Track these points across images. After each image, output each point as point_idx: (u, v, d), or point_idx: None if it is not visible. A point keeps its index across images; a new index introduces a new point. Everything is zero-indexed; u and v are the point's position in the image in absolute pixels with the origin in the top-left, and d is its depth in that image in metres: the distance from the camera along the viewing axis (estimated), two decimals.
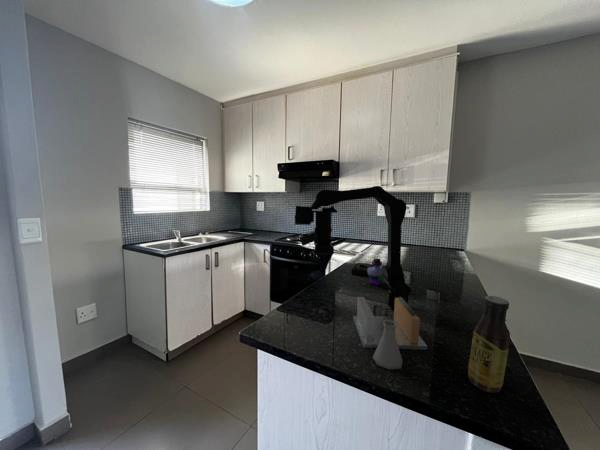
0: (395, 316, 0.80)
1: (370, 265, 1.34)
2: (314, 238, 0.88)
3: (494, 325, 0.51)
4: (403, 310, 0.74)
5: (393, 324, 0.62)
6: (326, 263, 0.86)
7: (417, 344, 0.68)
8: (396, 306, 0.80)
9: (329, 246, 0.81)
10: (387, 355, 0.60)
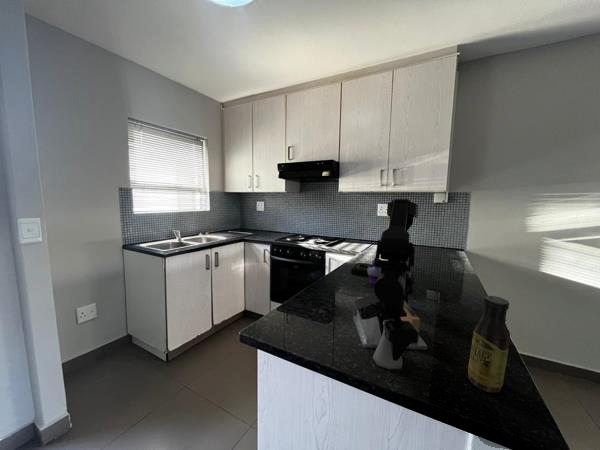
0: None
1: (370, 265, 1.34)
2: (381, 310, 0.58)
3: (494, 325, 0.51)
4: None
5: None
6: (401, 350, 0.56)
7: (417, 344, 0.68)
8: None
9: (412, 331, 0.52)
10: (387, 355, 0.60)
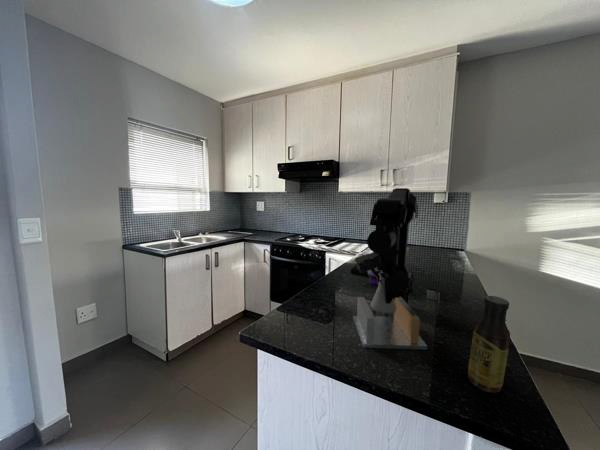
0: (395, 316, 0.80)
1: None
2: (377, 263, 0.67)
3: (494, 325, 0.51)
4: (403, 310, 0.74)
5: None
6: (393, 294, 0.67)
7: (417, 344, 0.68)
8: (396, 306, 0.80)
9: (404, 277, 0.60)
10: (382, 301, 0.69)
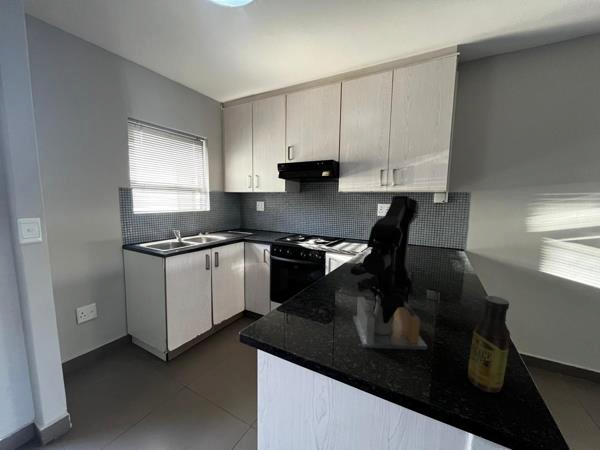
0: (395, 316, 0.80)
1: None
2: (374, 283, 0.71)
3: (494, 325, 0.51)
4: (403, 310, 0.74)
5: None
6: (390, 314, 0.70)
7: (417, 344, 0.68)
8: None
9: (399, 298, 0.65)
10: (378, 323, 0.73)
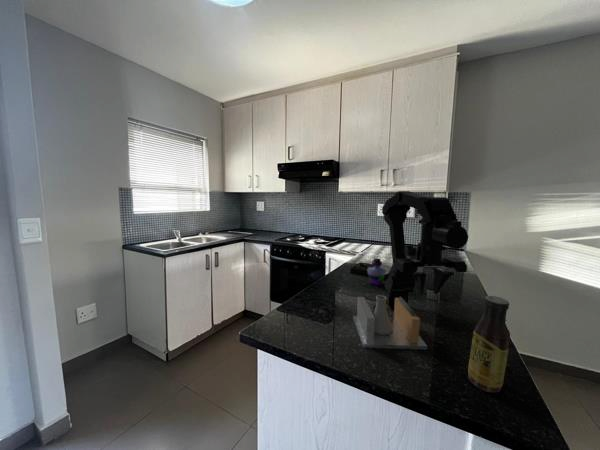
0: (395, 316, 0.80)
1: (371, 265, 1.34)
2: (415, 253, 0.75)
3: (494, 325, 0.51)
4: (403, 310, 0.74)
5: (384, 298, 0.75)
6: (419, 284, 0.72)
7: (417, 344, 0.68)
8: (396, 306, 0.80)
9: (402, 263, 0.70)
10: (378, 323, 0.73)
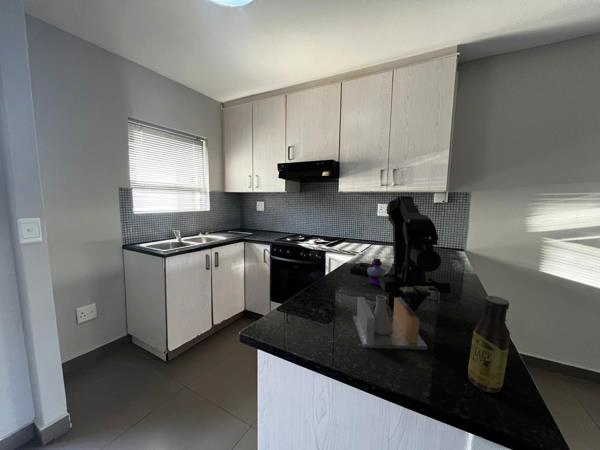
0: (394, 316, 0.80)
1: (372, 265, 1.34)
2: (401, 272, 0.76)
3: (494, 325, 0.51)
4: (402, 310, 0.74)
5: (384, 298, 0.75)
6: (410, 304, 0.73)
7: (417, 344, 0.68)
8: (395, 306, 0.80)
9: (384, 282, 0.72)
10: (378, 323, 0.73)
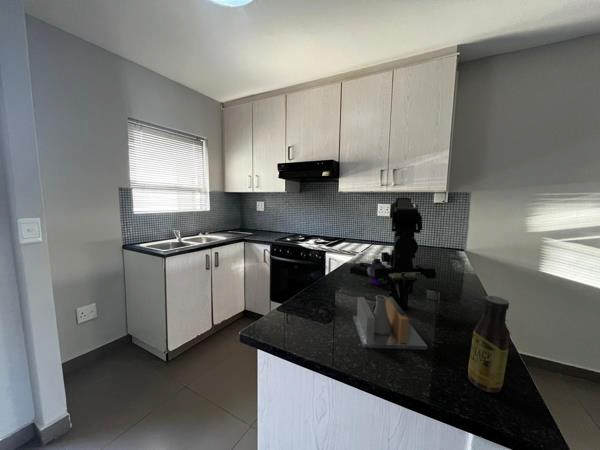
0: None
1: None
2: (390, 260, 0.80)
3: (493, 325, 0.51)
4: (393, 310, 0.74)
5: (384, 298, 0.75)
6: (398, 289, 0.77)
7: (417, 344, 0.68)
8: (386, 306, 0.80)
9: (374, 269, 0.76)
10: (378, 323, 0.73)
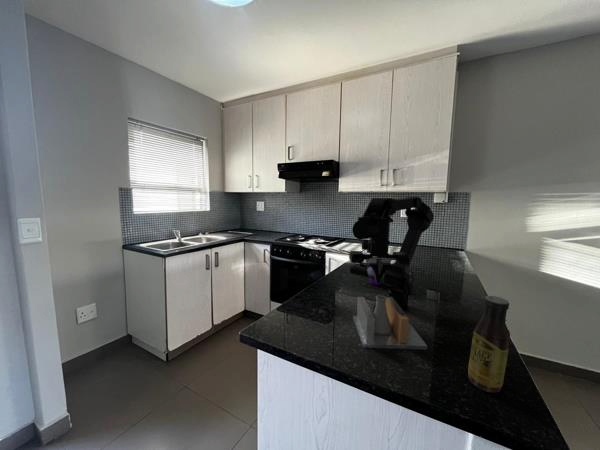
0: None
1: None
2: (368, 247, 0.86)
3: (494, 325, 0.51)
4: (393, 310, 0.74)
5: (384, 298, 0.75)
6: (374, 274, 0.83)
7: (417, 344, 0.68)
8: (386, 306, 0.80)
9: (352, 254, 0.81)
10: (378, 323, 0.73)
